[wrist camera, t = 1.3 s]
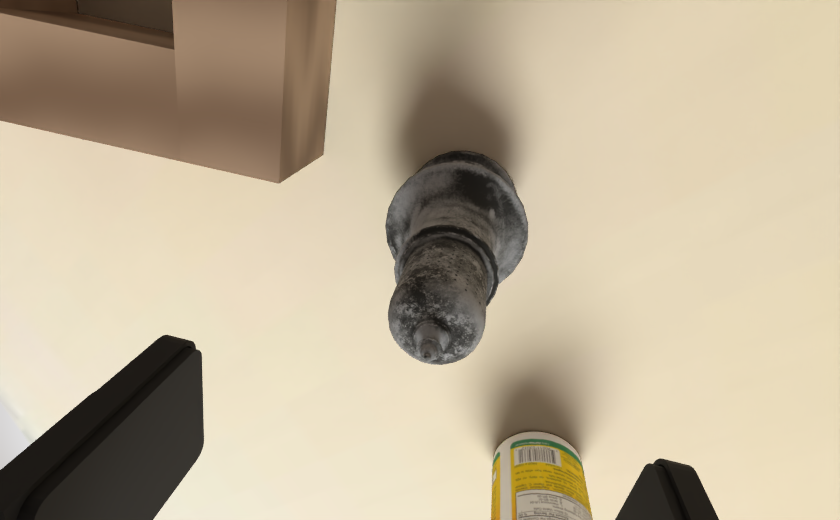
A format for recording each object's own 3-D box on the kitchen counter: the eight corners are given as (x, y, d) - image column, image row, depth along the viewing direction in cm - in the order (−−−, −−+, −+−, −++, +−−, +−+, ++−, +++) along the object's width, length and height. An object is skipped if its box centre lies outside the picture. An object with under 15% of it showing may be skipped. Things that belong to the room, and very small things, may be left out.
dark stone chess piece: (414, 267, 24) (347, 449, 13) (389, 155, 22) (283, 267, 11) (530, 253, 23) (558, 443, 12) (516, 133, 20) (536, 235, 10)
